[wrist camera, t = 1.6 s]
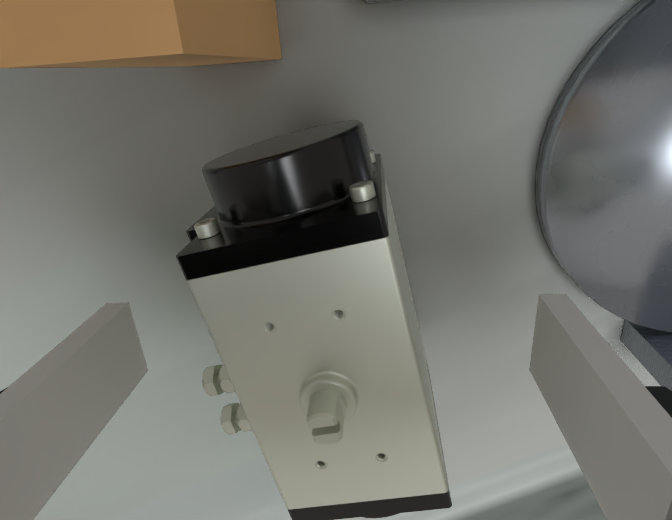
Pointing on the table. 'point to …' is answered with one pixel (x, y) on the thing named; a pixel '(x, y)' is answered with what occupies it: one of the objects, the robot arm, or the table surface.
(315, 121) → the table surface
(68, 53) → the tan rectangular block
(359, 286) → the pneumatic valve
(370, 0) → the grey rectangular frame
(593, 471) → the robot arm
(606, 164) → the grey disc
